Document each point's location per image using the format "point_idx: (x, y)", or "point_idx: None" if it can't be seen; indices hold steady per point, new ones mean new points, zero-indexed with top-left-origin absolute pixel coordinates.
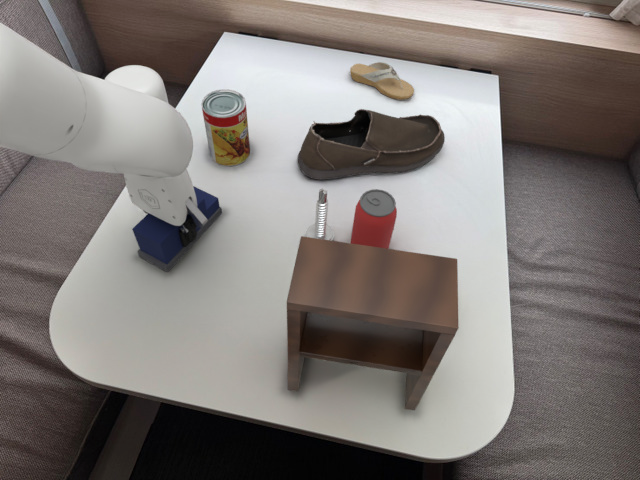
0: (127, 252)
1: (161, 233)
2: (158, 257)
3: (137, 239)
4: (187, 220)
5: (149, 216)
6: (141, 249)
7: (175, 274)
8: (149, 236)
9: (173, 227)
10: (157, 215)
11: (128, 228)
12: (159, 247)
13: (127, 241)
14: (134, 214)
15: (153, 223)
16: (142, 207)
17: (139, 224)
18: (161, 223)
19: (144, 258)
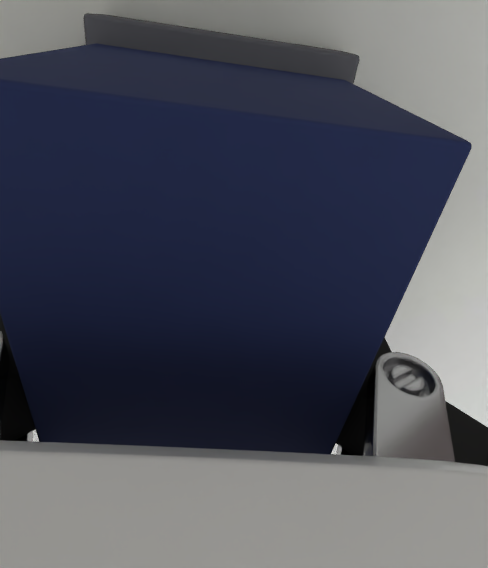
0: (432, 52)
1: (68, 239)
2: (160, 56)
3: (371, 100)
4: (19, 426)
5: (338, 358)
6: (332, 80)
7: (48, 24)
8: (172, 132)
9: (34, 346)
10: (93, 523)
11: (479, 209)
12: (28, 65)
13: (459, 131)
14: (473, 286)
15: (253, 312)
16: (439, 544)
17: (399, 245)
18: (178, 340)
19: (298, 45)
